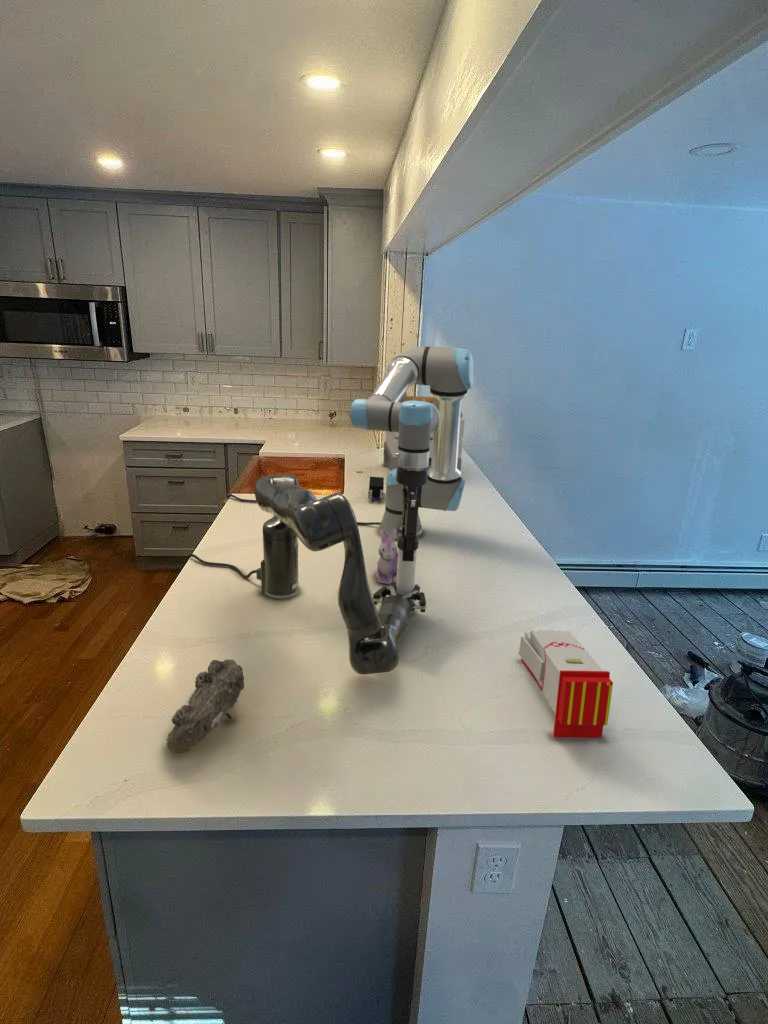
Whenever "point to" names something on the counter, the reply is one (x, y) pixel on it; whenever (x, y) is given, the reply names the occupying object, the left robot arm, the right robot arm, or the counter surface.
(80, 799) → the counter surface
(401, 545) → the lid
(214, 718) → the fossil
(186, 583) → the counter surface
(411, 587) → the jar
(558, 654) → the toy
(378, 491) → the figurine character
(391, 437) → the tiered storage shelf
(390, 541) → the figurine
